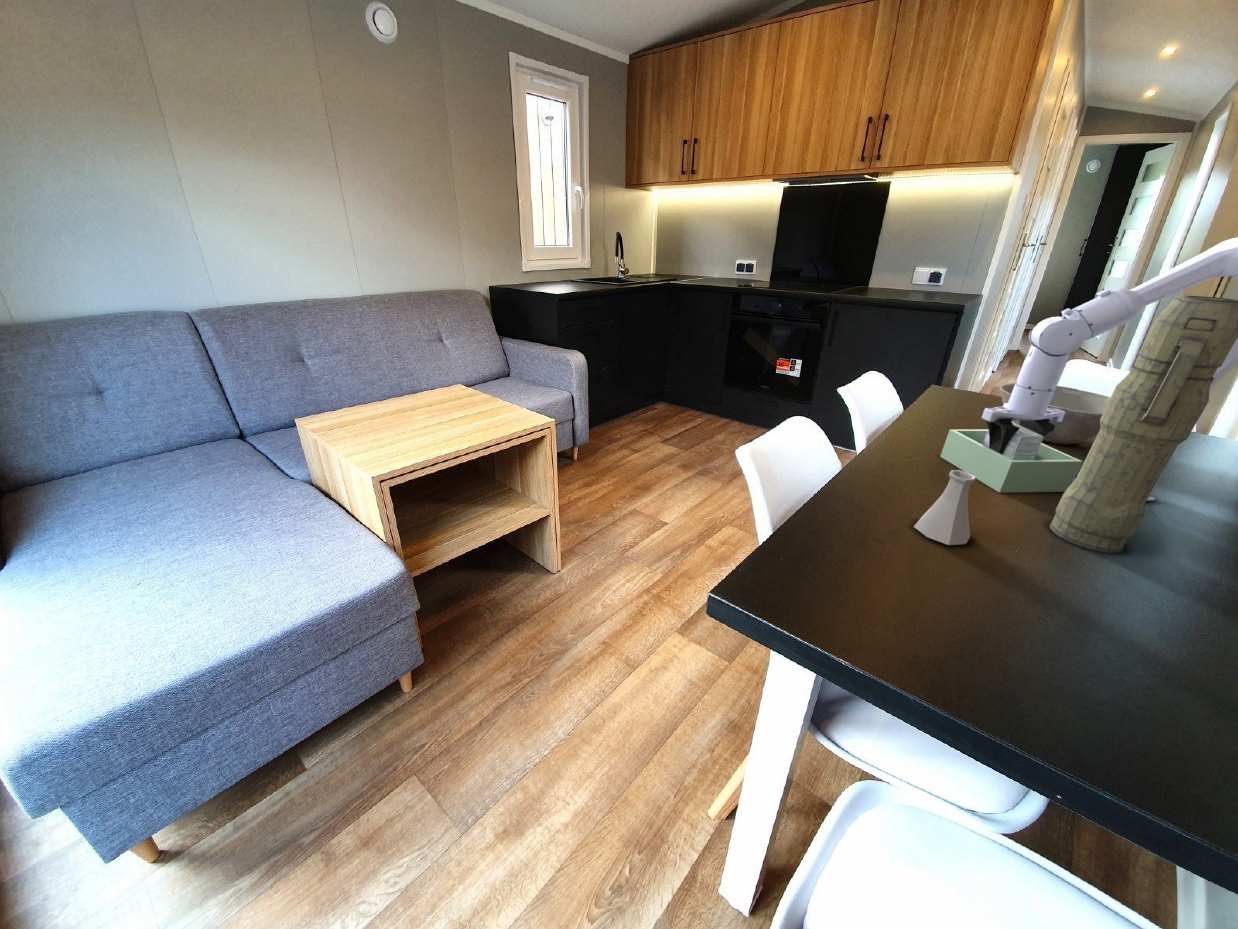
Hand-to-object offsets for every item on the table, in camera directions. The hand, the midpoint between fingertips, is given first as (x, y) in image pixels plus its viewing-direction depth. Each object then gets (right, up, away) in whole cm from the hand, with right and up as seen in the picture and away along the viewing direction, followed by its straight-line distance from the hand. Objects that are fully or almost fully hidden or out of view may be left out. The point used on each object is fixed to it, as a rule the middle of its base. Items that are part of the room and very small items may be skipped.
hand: (1006, 455), depth 94 cm
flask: (-25, -12, -19) cm, 34 cm away
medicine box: (0, -3, +2) cm, 3 cm away
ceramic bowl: (+25, +4, +20) cm, 33 cm away
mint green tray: (0, -3, +2) cm, 4 cm away
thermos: (-3, -13, -18) cm, 23 cm away
